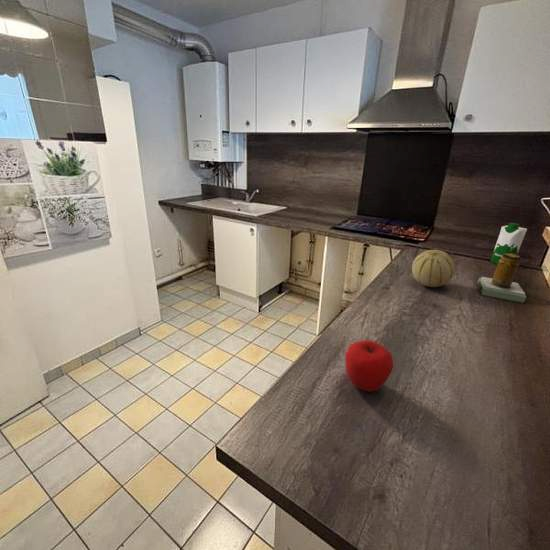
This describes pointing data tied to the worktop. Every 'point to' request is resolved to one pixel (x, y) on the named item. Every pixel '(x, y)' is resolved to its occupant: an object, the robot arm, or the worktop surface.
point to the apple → (368, 365)
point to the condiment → (506, 272)
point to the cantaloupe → (433, 268)
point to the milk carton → (508, 241)
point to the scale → (501, 291)
